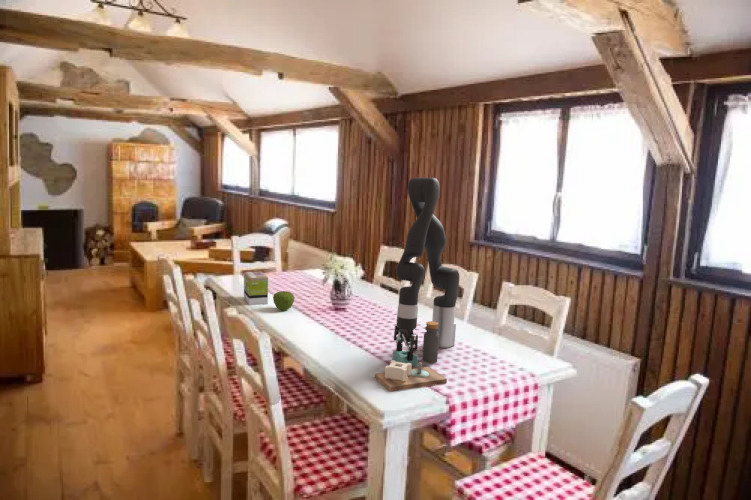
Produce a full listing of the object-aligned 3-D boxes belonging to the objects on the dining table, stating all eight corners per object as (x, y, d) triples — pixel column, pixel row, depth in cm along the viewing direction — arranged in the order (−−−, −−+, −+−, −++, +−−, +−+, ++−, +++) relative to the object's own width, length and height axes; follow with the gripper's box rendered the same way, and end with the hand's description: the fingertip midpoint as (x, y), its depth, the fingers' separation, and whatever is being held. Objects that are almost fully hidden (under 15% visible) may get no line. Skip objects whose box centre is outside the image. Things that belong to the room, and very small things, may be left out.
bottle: (436, 358, 207) (438, 321, 205) (438, 363, 201) (441, 325, 199) (421, 357, 207) (423, 320, 204) (423, 362, 201) (425, 324, 199)
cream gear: (390, 370, 187) (391, 359, 186) (411, 374, 184) (412, 363, 184) (383, 378, 179) (384, 366, 179) (405, 382, 177) (406, 370, 176)
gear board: (428, 370, 193) (429, 356, 192) (446, 382, 182) (447, 367, 182) (374, 377, 184) (375, 362, 183) (390, 391, 173) (391, 375, 172)
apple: (292, 313, 259) (292, 293, 258) (270, 312, 259) (271, 292, 258) (295, 307, 270) (296, 288, 268) (275, 306, 270) (275, 287, 269)
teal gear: (408, 358, 204) (409, 349, 204) (418, 365, 197) (419, 355, 197) (391, 361, 201) (391, 351, 200) (400, 368, 194) (401, 357, 193)
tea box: (243, 298, 283) (243, 271, 281) (261, 297, 288) (262, 271, 285) (248, 305, 270) (249, 277, 268) (268, 304, 274) (268, 276, 272)
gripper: (425, 319, 191) (422, 362, 194) (406, 309, 204) (404, 350, 206) (407, 320, 188) (404, 364, 190) (389, 310, 201) (386, 351, 203)
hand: (404, 356), depth 198 cm, fingers open, 8 cm apart
